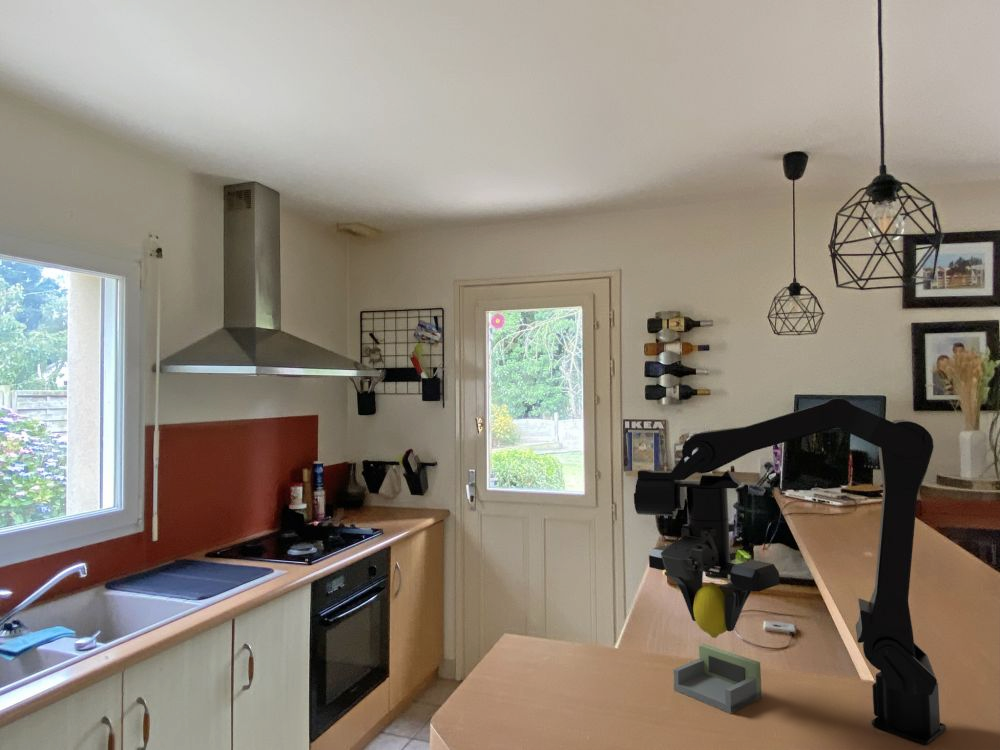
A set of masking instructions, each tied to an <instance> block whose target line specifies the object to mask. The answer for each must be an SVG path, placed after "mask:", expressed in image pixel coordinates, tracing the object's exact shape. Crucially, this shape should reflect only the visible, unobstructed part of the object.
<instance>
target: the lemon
mask: <svg viewBox="0 0 1000 750" xmlns="http://www.w3.org/2000/svg"><path fill="white" fill-rule="evenodd" d="M719 586H720V585H718V584H716V583H715V582H712V581H710V582H708V584H706V585H702V587H701V588H700V589H699V590H698V591H697V593H696V595H695V599H694V604H693V612H694V617H695V620H696V621H695V623H696V624H697V626H698V627H699V629H701V630H702V631H703V632H705V633H707V634H708V635H709V636H710V637H711V638H713V639H716V638H718V636H719V635H721V634H724V633H725V632H728V631H727V628H726V621H725V597H724V594H723V593H722V591H721V590H720V588H719Z"/></svg>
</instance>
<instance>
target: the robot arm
mask: <svg viewBox="0 0 1000 750" xmlns="http://www.w3.org/2000/svg"><path fill="white" fill-rule="evenodd" d="M833 429H839V430H843V431H845V432H847V433H848V434H850V435H853V436H855V437H856V438H859V439H862V440H863V441H864V442H868V443H869V444H872V445H873V446H876V447H877V450H878V459H879V460H878V461H879V468H880V474H881V479H882V480H881V481H882V487H883V488H882V489H883V490H882V499H881V512H880V524H879V533H878V534H879V535H878V547H877V557H876V558H877V559H876V570H875V582H874V588H873V592H872V594H871V596H870V599H869V601H868V600H865V599H862V598H860V597H859V598H858V599H857V600H858V601H857V602H858V608H859V609H858V610H859V616H858V621H857V622H856V623H855V631H856V638H857V639H856V640H857V643H858V644H861V643H862V649H863V655H864V657H865V659H866V660H867V661H868V663H870V665H871V666H872V667H874V669H875V668H876V670H878V671H879V672H877V673H875V683H872V703H873V705H872V706H873V707H872V708H873V715H874V716H875V717H874V719H872V720H871V725H872V726H873V727H875V728H878V729H881V730H884V731H887V732H889V733H892V734H894V735H897V736H900V737H903V738H905V739H908V740H911V741H914V742H916V743H920V744H922V745H929V744H930V743H931V742H932V741H933V740H935V739H936V738H937V737H938V736H939V735H941V734H942V733H944V731H945V730H946V729H947V725H946V724H945V723H942V722H941V717H940V697H939V693H940V692H939V683H938V679H937V676H936V675H935V671H934V669H933V666H932V663H931V662H930V659H929V656H928V654H927V653H926V652H925V651H924V650H923V649H922V648H920V647H919V645H917V644H916V643H915V641H914V638H915V637H914V632H913V631H914V630H913V624H912V619H911V618H912V617H911V612H910V605H909V596H910V595H909V593H910V585H911V582H910V581H911V572H912V571H911V570H912V561H913V557H912V556H913V550H914V549H913V547H914V537H915V525H916V514H917V512H916V511H917V504H918V503H917V502H918V495H919V492H920V488H921V486H922V484H923V482H924V479H925V476H926V473H927V471H928V468H929V464H930V462H931V458H932V455H933V452H934V447H935V446H934V439H933V437H932V436H933V435H932V434H931V433H930V431H928V430H927V429H926V428H925V427H924V426H922V425H921V424H919V423H917V422H914V421H911V420H908V419H907V420H906V419H895V420H888V419H886V418H884V417H881V416H879V415H878V414H874V413H872V412H870V411H868V410H866V409H863V408H860V407H858V406H856V405H855V404H852V403H851V402H850V401H849V400H847V399H844V398H841V397H840V398H839V397H834V398H831V399H828V400H827V401H826V402H823V403H819V404H817V405H813V406H809V407H806V408H803V409H800V410H796V411H794V412H790V413H786V414H783V415H780V416H777V417H774V418H770V419H767V420H763V421H760V422H757V423H753V424H750V425H746V426H739V427H731V428H723V429H722V428H721V429H713V430H705V431H700V432H697V433H694V434H692V435H690V436H689V437H688V438H687V439H686V440H685V441H684V443H683V445H682V449H681V456H682V457H681V458H680V460H679V461H678V462H677V464H676V465H675V466H673V468H672V470H671V471H668V470H664V471H663V470H652V469H640V470H638V471H637V479H636V483H635V488H634V489H635V492H633V503H634V509H635V512H636V514H637V515H645V516H661V517H662V516H664V517H665V516H667V517H677V515H678V511H679V510H682V511H683V510H684V507H685V502H686V506H687V507H686V508H687V524H682V528H681V535H680V538H679V539H677V540H675V541H673V542H672V543H670V544H666V545H662V546H657V547H654V548H652V549H651V551H650V552H649V554H648V566H649V568H652V569H655V570H659V571H665V572H664V575H665V576H666V577H668V578H670V579H672V581H673V582H675V583H676V584H677V586H678V587H679V590H680V592H681V594H682V597H683V600H684V602H685V605H686V607H687V610H688V613H689V615H690V618H691V620H692V621H693V622H696V620H695V617H694V612H693V604H694V599H695V595H696V593H697V591H698V590H699V589H700V588H701V587H703V580H704V579H703V578H704V577H703V576H704V573H711V574H715V575H716V574H717V575H721V576H725V577H727V583H725V584H721V585H718V586H719V588H720V590H721V591H722V593H723V594H724V597H725V621H726V628H727V631H726V632H733V631H734V629H735V627H736V625H737V623H738V620H739V619H740V616H741V614H742V611H743V608H744V606H745V603H746V602H747V600H748V598H749V596H750V594H751V593H752V592H756V593H757V592H762V591H764V590H767V589H770V588H773V587H776V586H778V585H780V583H781V582H780V572H779V570H778V568H777V567H776V565H775V564H774V563H771V562H766V561H761V560H755V559H750V560H746V561H742V562H739V563H733V562H731V561H734V560H736V558H737V557H736V552H735V551H731V549H730V548H731V545H730V542H731V541H730V533H731V532H735V524H734V523H729V522H730V521H729V504H728V489H735V490H736V489H738V488H739V487H740V486H741V485H742V481H741V480H739V478H737V477H735V476H734V474H733V473H732V472H731V470H729V469H727V470H726V471H725V472H724V473H723V474H722V475H716V474H714V475H710V474H707V473H711V472H713V471H715V470H717V469H720V468H721V467H723V466H726V465H728V464H730V463H732V462H733V461H736V460H738V459H740V458H742V457H744V456H746V455H747V454H748V455H749V454H751V453H752V452H755V451H759V450H762V449H766V448H769V447H773V446H776V445H781V444H783V443H787V442H790V441H794V440H797V439H798V440H799V439H801V438H804V437H807V436H812V435H815V434H819V433H822V432H826V431H829V430H833ZM696 473H698V474H702V475H701V476H700V480H686V479H688V478H690V477H691V476H693V475H694V474H696ZM685 488H686V493H685ZM685 497H686V498H685Z"/></svg>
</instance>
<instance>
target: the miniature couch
mask: <svg viewBox="0 0 1000 750" xmlns="http://www.w3.org/2000/svg"><path fill="white" fill-rule="evenodd" d="M698 651H699V652H698V654H699V655H698V656H699V658H697V659H695V660H693V661H690V662H688V663H685V664H682V665H680V666H678V667H675V668H673V691H676V692H678V693H680V694H683V695H685V696H687V697H689V698H692V699H695V700H697V701H700V702H702V703H704V704H706V705H709V706H712V707H714V708H716V709H719V710H721V711H724V712H726V713H728V714H733V713H735V712H737V711H739V710H741V709H742V708H744V707H746V706H748V705H751V704H752V703H755V702H756V701H758V700H760V699H762V697H763V696H762V693H763V692H762V678H761V677H762V675H761V670H762V669H761V662H760V661H757V660H755V659H751V658H748V657H745V656H742V655H740V654H737V653H733V652H730V651H727V650H724V649H721V648H718V647H716V646H712V645H710V644H706V643H701V644H700V645H698Z"/></svg>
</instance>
